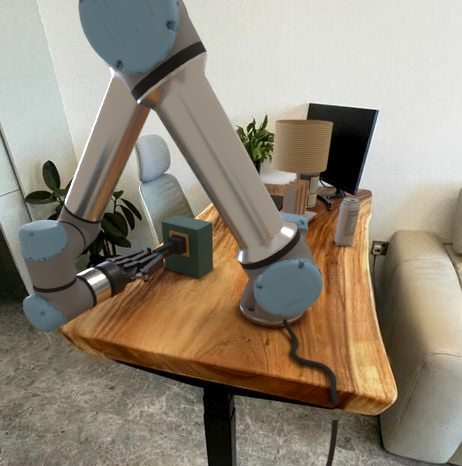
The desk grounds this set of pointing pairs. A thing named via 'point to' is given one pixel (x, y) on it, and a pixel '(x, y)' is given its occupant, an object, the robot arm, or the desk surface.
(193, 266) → the teal green box
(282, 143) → the desk lamp
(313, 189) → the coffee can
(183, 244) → the button
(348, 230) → the energy drink can
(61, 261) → the robot arm
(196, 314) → the desk surface
